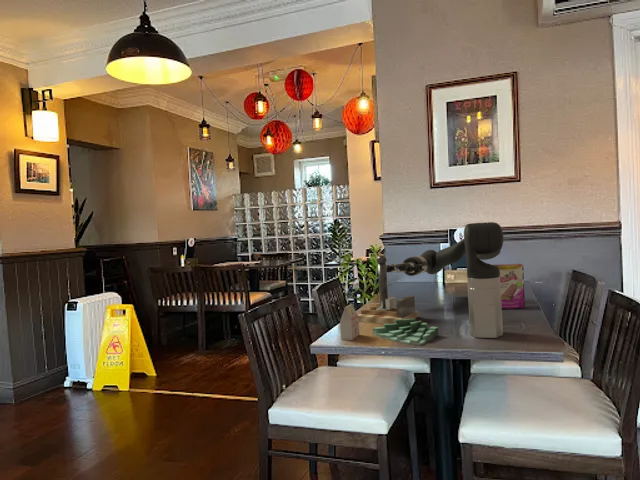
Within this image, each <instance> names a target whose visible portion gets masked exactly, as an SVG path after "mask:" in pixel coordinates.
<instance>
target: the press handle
mask: <svg viewBox="0 0 640 480" xmlns="http://www.w3.org/2000/svg"><path fill="white" fill-rule="evenodd" d="M387 261H388V260H387V257H386V256H385V255H382V254H381V255H378V256H377V257H376V263H377V274H378V292H379V307H380V308H377V309H376V311H389V312H393V308H397V305H396V300H397V296H394V297H393V296H391V297H389V295H388V293H389V291H388V275H387V274H388V272H386V265H387V264H386V263H387Z"/></svg>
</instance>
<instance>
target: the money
mask: <svg viewBox="0 0 640 480" xmlns="http://www.w3.org/2000/svg"><path fill="white" fill-rule="evenodd" d="M371 329H372V335H374V336H376V337H379V338H382V339H384V340H387V341H392V342H394V343H395V342H396V343H400V344H406V345H412V346H413V345H414V346H423V345H425V344H426V343H428V342H430V341H432V340H434V339H435V338H437V337H439V326H430V327H429V328H428V323H427V322H422V320H418V321H417V320H416V318H415V319H398V320H396V323H394V324H383V326H382V327H373V328H371Z"/></svg>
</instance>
